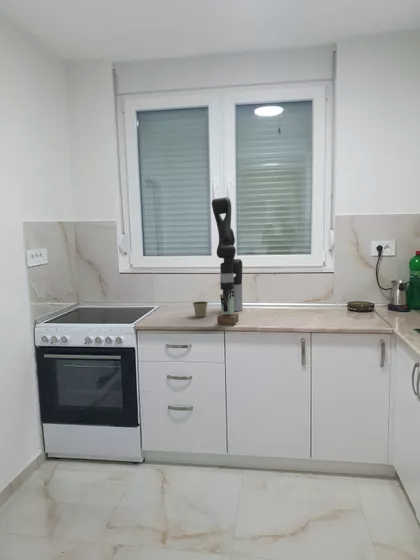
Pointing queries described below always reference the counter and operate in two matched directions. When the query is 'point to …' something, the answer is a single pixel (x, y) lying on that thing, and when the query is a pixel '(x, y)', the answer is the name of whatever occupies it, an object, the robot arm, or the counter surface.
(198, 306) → the flower pot
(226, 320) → the walnut box
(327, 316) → the counter surface
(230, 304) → the canister
